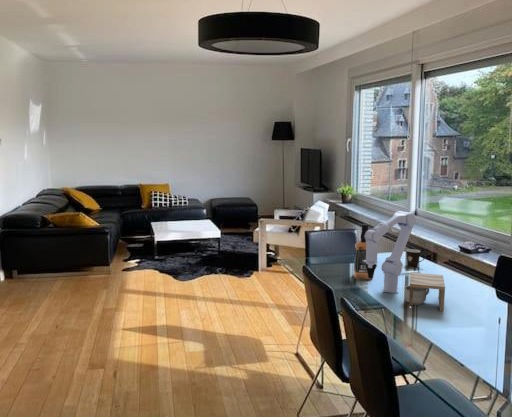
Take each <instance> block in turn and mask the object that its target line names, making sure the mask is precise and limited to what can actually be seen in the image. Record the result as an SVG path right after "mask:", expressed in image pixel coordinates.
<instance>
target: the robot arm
mask: <svg viewBox="0 0 512 417" xmlns="http://www.w3.org/2000/svg"><path fill="white" fill-rule="evenodd" d="M416 220H417V219H416V215H415V213H413V212H407V211H401V210H397V211H396V212H394V213H393V216H391V217H390V218H389V219H387V221H386V222H379V223H378V225H376V226H375V227H374V226H373V228H372V229H368V231H366V233H365V235H364V237H365V239H366V243H367V246H366V260H364V262H366V263H367V264H366V269H367V272H368V278H371V279H372V280H373V279H374V275H375V271H376V268H377V267H378V249H379V248H378V247H379V246H378V245H379V244H378V243H379V242H380V241H381V238H382V237H383V236H384V235H385V234H386V233H389V230H390V228H393V227H394V226H396V225H397V226H398V227H399V228H400V231H399V235H398V237H397V239H396V242H395V244H394V246H393V249H392V251H391V254H390V256H388V257H386V258H385V259H384V262H382V264H381V271H382V272H383V274H384V275H383V277H384V278H383V288H382V292H383V293H392V294H398V293H399V287H398V285H399V284H398V282H399V276H400V275H401V273H402V272H403V271H402V270H403V265H404V264H403V262H402V260H401V258H402V256H403V254H404V251H405V249H406V246H407V243H408V241H409V238H410V236H411V233H412V230H413V229H414V225H415V224H416Z"/></svg>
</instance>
